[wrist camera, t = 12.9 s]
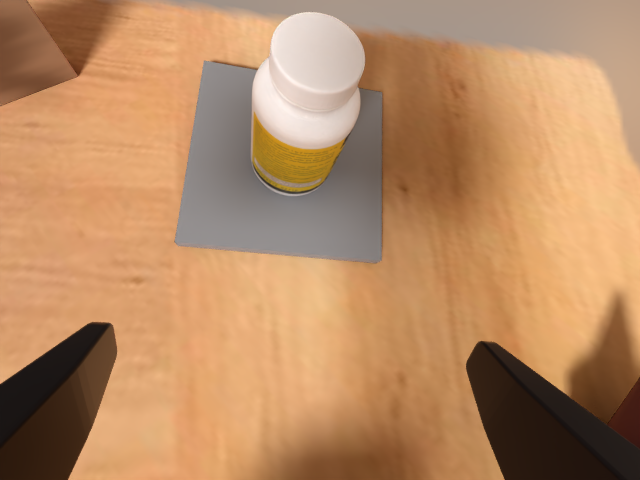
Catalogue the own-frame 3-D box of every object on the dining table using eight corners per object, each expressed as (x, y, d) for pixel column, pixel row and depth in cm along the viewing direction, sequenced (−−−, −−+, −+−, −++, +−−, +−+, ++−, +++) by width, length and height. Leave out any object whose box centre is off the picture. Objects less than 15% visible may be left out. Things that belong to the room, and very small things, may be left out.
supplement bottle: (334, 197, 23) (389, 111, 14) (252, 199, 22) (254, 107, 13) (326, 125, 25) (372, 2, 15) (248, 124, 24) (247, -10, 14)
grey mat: (376, 263, 24) (381, 260, 23) (177, 245, 22) (174, 242, 21) (377, 100, 27) (382, 92, 26) (205, 70, 25) (204, 60, 24)
